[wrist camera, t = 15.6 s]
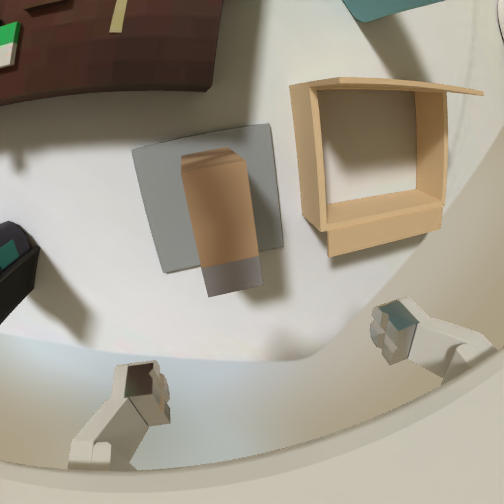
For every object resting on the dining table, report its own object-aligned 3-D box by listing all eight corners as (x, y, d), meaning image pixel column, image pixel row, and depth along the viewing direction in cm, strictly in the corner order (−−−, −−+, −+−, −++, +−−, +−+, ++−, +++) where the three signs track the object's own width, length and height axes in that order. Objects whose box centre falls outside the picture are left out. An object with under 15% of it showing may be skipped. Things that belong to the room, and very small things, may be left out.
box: (227, 146, 26) (246, 160, 19) (242, 240, 30) (263, 284, 23) (180, 155, 25) (180, 173, 18) (200, 250, 29) (208, 297, 22)
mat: (267, 123, 26) (269, 123, 25) (281, 244, 31) (283, 246, 31) (132, 149, 24) (131, 150, 24) (163, 270, 30) (163, 272, 29)
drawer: (417, 86, 27) (483, 91, 18) (418, 213, 34) (473, 245, 25) (289, 85, 25) (339, 77, 16) (303, 237, 32) (347, 286, 23)
